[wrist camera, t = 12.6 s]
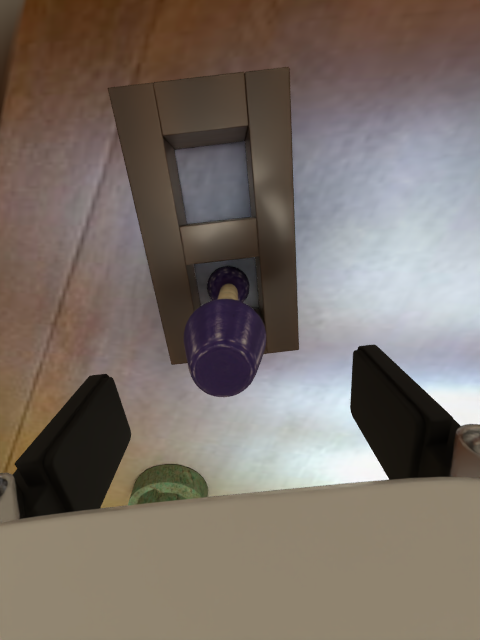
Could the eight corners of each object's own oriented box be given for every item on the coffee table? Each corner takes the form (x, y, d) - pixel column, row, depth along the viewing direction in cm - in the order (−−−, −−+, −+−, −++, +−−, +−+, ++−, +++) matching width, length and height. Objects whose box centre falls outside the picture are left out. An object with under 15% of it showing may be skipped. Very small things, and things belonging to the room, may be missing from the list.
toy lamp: (195, 293, 28) (155, 394, 12) (215, 251, 26) (199, 307, 11) (237, 313, 29) (248, 431, 13) (258, 274, 27) (300, 354, 12)
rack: (277, 93, 22) (289, 66, 18) (289, 330, 30) (299, 350, 26) (129, 110, 22) (107, 87, 18) (179, 343, 30) (171, 365, 26)
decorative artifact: (121, 498, 38) (183, 524, 41) (99, 558, 32) (175, 583, 34) (157, 453, 35) (221, 483, 38) (141, 507, 29) (220, 539, 31)
